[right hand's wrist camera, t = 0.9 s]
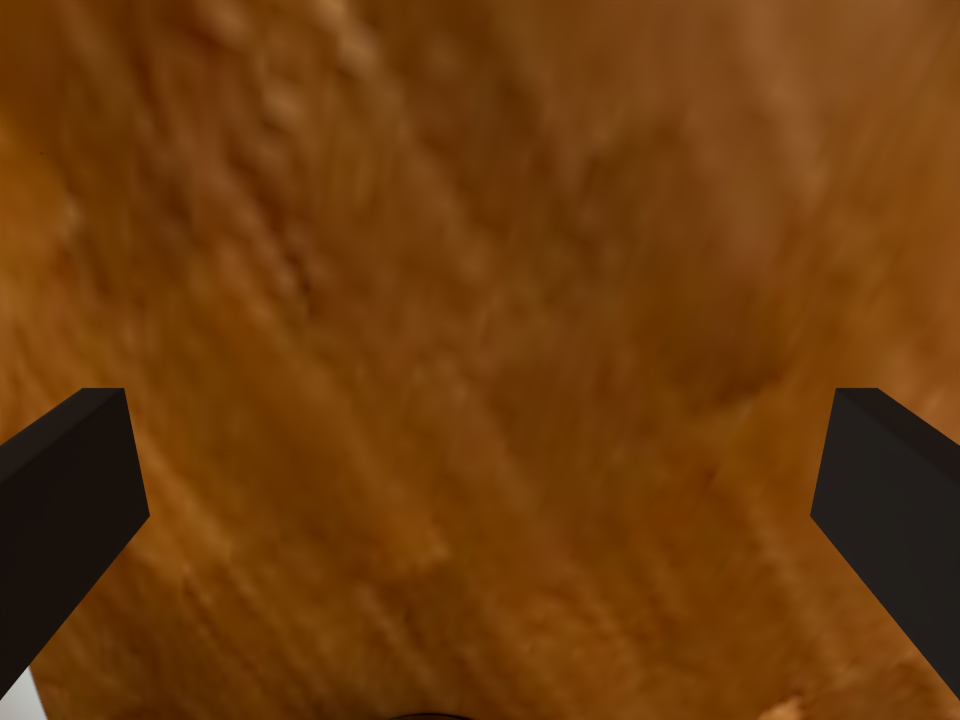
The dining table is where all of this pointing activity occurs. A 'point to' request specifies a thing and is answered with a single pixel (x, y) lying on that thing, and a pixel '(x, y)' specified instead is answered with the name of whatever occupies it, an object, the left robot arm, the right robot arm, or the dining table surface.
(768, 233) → the dining table surface
